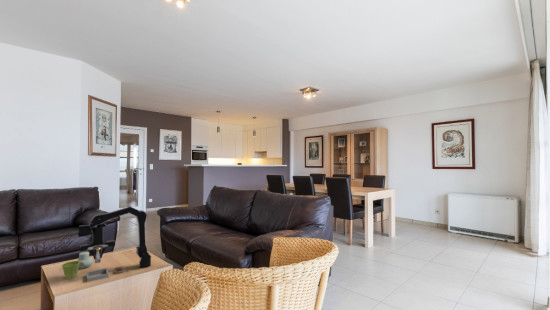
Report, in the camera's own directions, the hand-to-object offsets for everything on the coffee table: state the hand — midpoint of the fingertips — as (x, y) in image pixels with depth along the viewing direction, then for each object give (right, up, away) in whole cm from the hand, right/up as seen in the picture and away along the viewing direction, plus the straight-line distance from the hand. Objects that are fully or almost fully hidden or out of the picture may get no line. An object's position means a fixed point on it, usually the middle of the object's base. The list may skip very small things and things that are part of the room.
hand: (97, 258), depth 172 cm
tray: (0, -12, 0) cm, 12 cm away
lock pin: (0, -2, 0) cm, 2 cm away
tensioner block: (+9, -12, +8) cm, 17 cm away
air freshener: (-21, -13, +18) cm, 31 cm away
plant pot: (-18, -13, +1) cm, 22 cm away
